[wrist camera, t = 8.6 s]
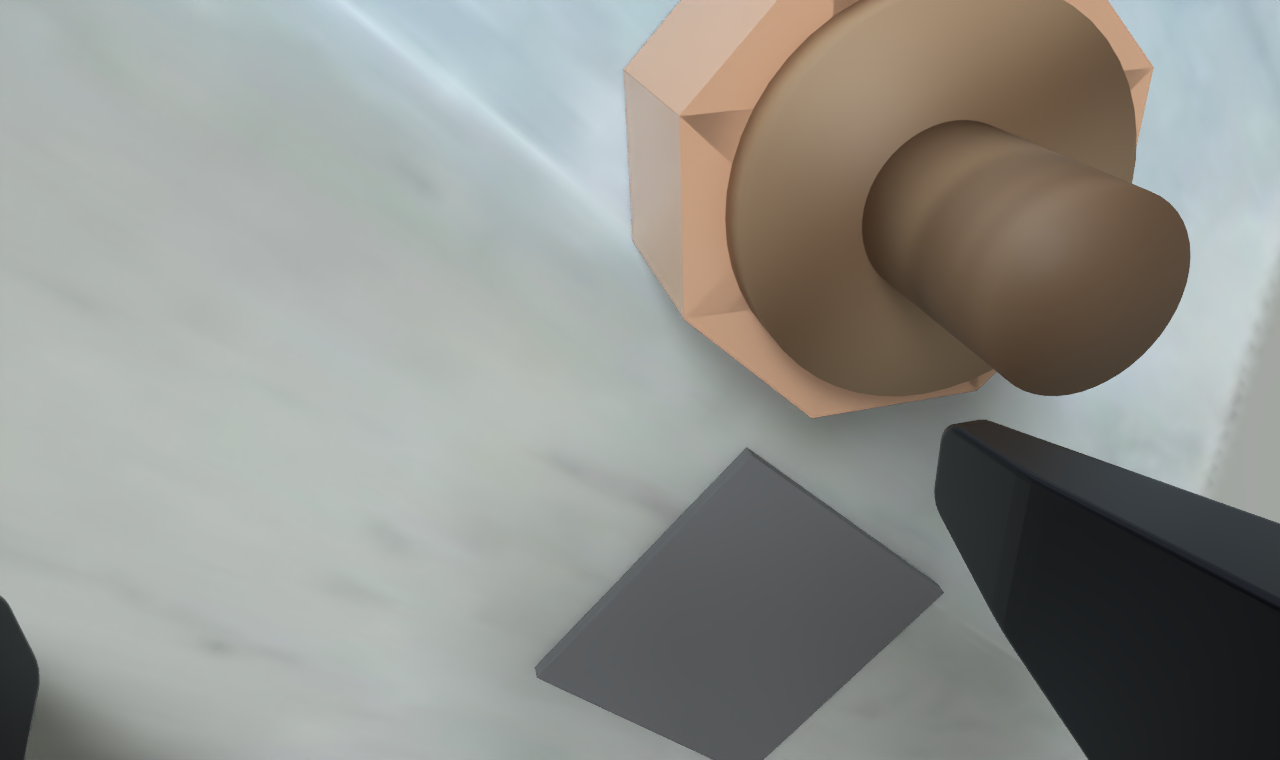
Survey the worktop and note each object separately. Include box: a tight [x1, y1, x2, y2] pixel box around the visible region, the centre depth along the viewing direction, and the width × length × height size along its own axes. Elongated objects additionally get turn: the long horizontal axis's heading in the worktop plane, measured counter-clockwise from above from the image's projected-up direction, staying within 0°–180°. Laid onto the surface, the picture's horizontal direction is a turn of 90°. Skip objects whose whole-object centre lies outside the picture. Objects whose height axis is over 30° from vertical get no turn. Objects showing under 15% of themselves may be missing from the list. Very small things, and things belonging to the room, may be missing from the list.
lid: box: [725, 0, 1190, 396], centre depth 15 cm, size 8×8×5 cm
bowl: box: [624, 0, 1153, 418], centre depth 19 cm, size 9×9×4 cm
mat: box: [535, 448, 944, 760], centre depth 28 cm, size 9×9×1 cm
